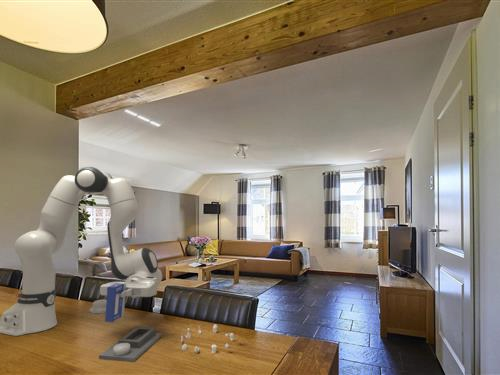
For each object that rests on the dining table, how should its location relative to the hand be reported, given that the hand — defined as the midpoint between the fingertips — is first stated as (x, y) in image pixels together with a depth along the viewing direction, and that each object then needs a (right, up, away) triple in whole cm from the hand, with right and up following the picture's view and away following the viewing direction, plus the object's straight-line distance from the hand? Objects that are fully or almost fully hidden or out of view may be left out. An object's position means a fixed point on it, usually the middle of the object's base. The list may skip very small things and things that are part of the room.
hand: (116, 295), depth 107 cm
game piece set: (+31, -18, +3) cm, 37 cm away
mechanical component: (-24, -21, +38) cm, 49 cm away
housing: (+6, -17, -1) cm, 19 cm away
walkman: (-1, -9, 0) cm, 9 cm away
